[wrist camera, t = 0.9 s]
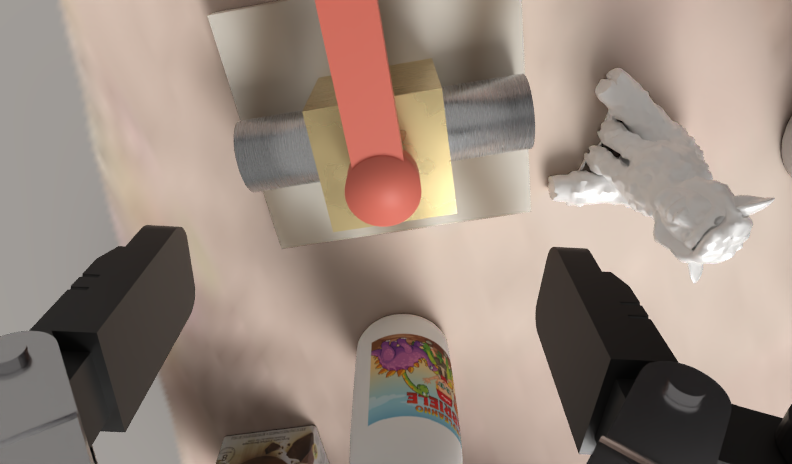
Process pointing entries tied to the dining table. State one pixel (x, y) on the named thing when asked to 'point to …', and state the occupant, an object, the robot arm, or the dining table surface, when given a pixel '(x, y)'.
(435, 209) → the valve body
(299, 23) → the mounting board
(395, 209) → the valve lever
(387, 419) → the milk bottle
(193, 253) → the dining table surface
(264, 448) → the coffee box
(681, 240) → the sitting furry creature
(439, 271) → the dining table surface
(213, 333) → the dining table surface
